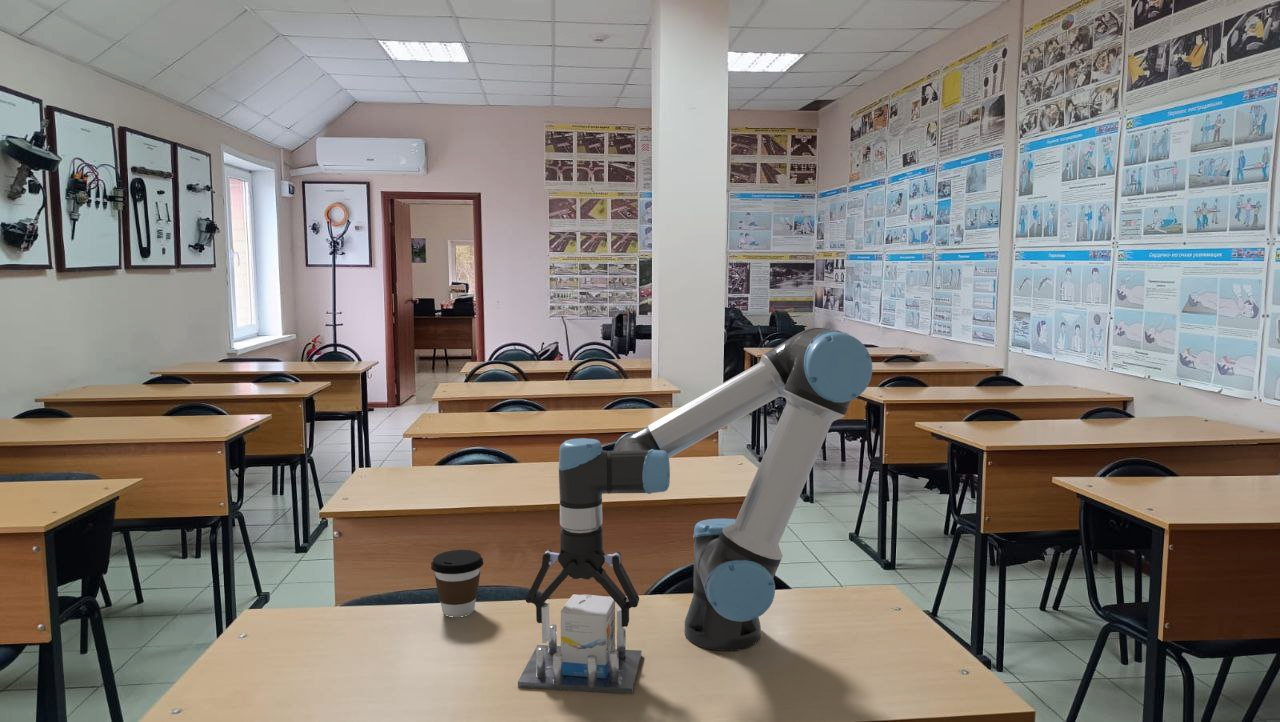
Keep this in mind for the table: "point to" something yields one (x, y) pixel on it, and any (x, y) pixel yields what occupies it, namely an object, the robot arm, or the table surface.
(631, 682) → the grey peg board
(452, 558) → the coffee cup
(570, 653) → the ink box
